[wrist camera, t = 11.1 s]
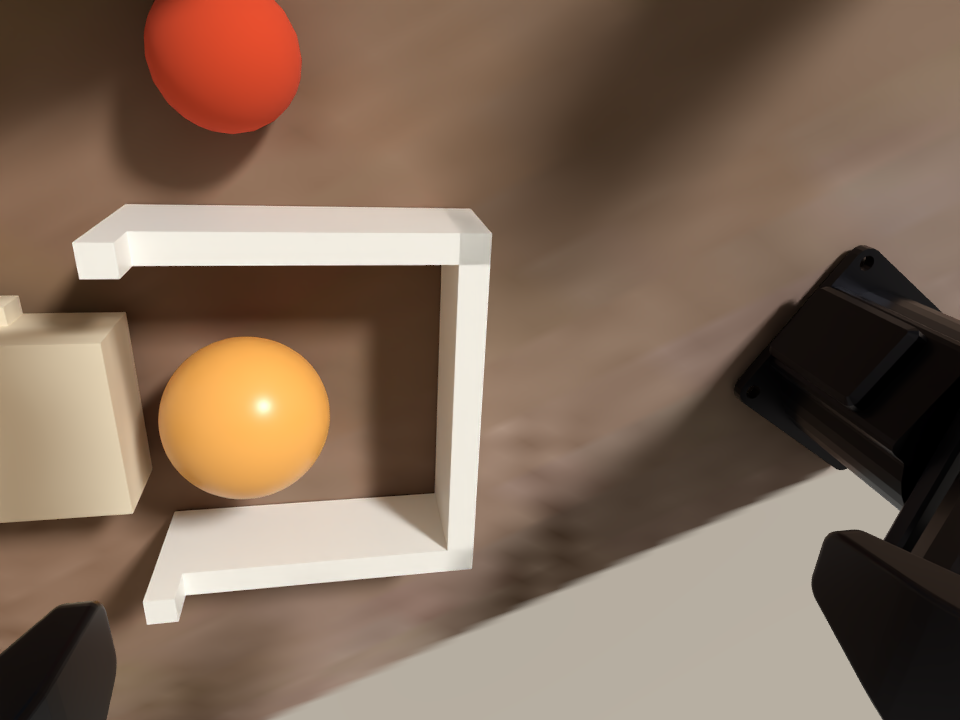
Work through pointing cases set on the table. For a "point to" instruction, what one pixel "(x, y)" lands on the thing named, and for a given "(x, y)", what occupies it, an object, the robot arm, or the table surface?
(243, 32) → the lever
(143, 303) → the table surface
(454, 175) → the table surface
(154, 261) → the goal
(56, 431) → the beige peg stand
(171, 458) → the ball
